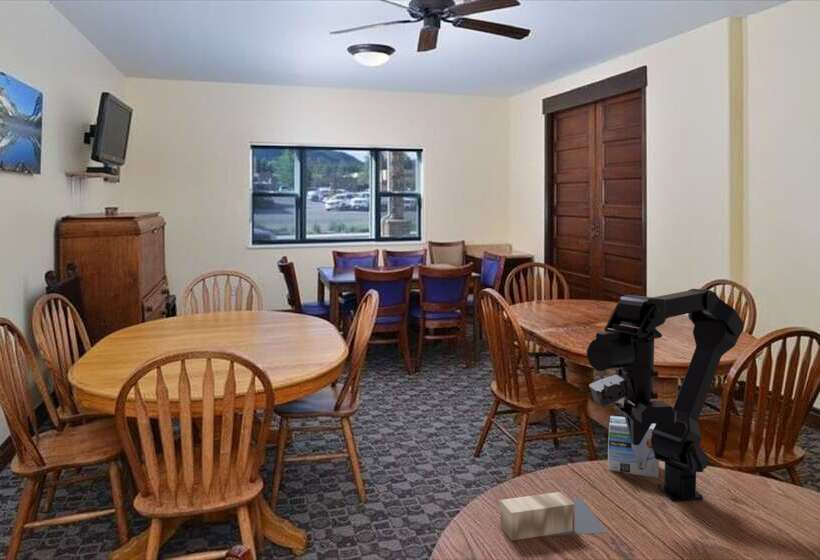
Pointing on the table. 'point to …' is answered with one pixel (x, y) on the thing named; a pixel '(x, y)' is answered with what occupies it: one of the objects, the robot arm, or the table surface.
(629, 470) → the light bulb box
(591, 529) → the slate mat
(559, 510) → the beech block
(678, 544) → the table surface
